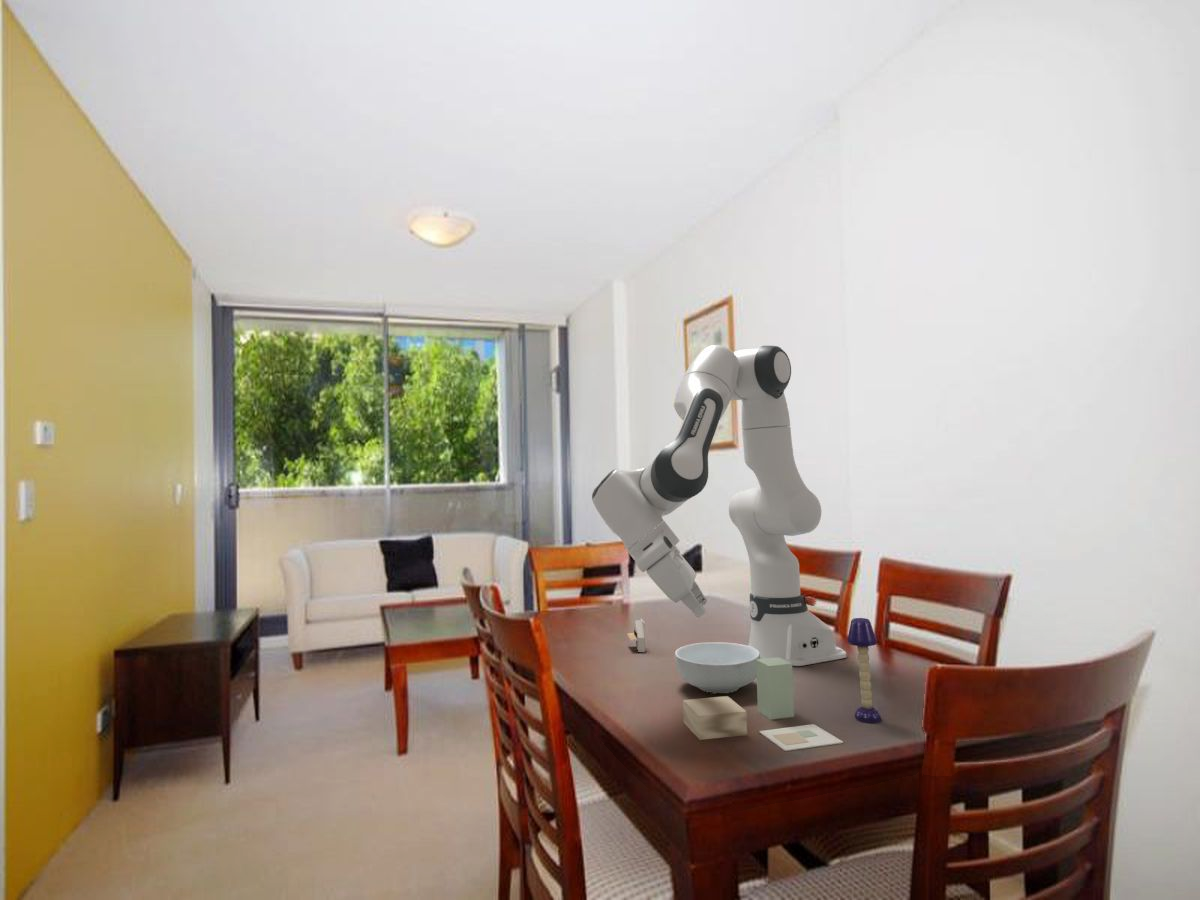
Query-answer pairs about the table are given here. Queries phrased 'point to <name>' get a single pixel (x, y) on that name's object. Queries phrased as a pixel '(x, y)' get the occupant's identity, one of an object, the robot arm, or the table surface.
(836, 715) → the table surface
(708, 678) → the cereal bowl
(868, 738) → the table surface
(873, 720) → the toy lamp
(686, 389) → the robot arm
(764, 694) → the column brick
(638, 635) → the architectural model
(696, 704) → the base brick
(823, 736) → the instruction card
